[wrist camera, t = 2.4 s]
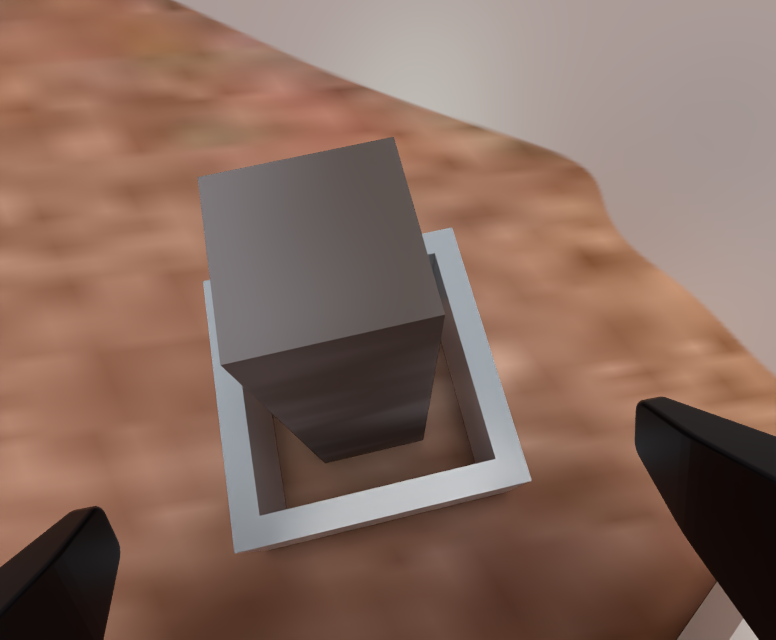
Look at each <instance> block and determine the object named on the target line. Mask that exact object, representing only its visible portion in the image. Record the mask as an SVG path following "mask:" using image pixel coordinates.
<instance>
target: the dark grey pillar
mask: <svg viewBox="0 0 776 640" xmlns="http://www.w3.org/2000/svg"><path fill="white" fill-rule="evenodd" d="M198 184H199V193H200V201H201V209H202V218H203V226H204V234H205V242H206V251H207V259H208V267H209V276H210V284H211V292H212V300H213V309H214V317H215V325H216V334H217V342H218V350H219V358H220V365H221V366H222V367H223V368H224V369H225V370H226V371H227V372H228V373H229V374H230V375H231V376H232V377H234V378H235V379H236V380H237V381H238V382H239V383H240V384H241V385H242V386H243V387H244V388H245V389H246V390H247V391H249V392H250V393H251V394H252V395H253V396H254V397H255V398H256V399H257V400H258V401H259V402H260V403H261V404H262V405H264V406H265V407H266V408H267V409H268V410H269V411H270V412H271V413H272V414H273V415H274V416H275V417H276V418H277V419H279V420H280V421H281V422H282V423H283V424H284V425H285V426H286V427H287V428H288V429H289V430H290V431H291V432H292V433H294V434H295V435H296V436H297V437H298V438H299V439H300V440H301V441H302V442H303V443H304V444H305V445H306V446H307V447H309V448H310V449H311V450H312V451H313V452H314V453H315V454H316V455H317V456H318V457H319V458H320V459H321V460H322V461H324V462H325V463H328V462H332V461H336V460H340V459H345V458H349V457H353V456H357V455H362V454H366V453H370V452H374V451H378V450H383V449H387V448H391V447H395V446H399V445H404V444H408V443H412V442H416V441H420V440H423V438H424V432H425V426H426V421H427V415H428V409H429V403H430V398H431V392H432V386H433V381H434V375H435V369H436V364H437V358H438V352H439V347H440V341H441V335H442V330H443V324H444V318H445V312H444V309H443V305H442V302H441V298H440V295H439V291H438V288H437V285H436V281H435V278H434V274H433V271H432V267H431V264H430V261H429V257H428V254H427V250H426V247H425V243H424V240H423V236H422V233H421V230H420V226H419V223H418V219H417V216H416V212H415V209H414V205H413V202H412V199H411V195H410V192H409V188H408V185H407V181H406V178H405V174H404V171H403V168H402V164H401V161H400V157H399V154H398V150H397V147H396V143H395V140H394V137H391V138H386V139H381V140H376V141H371V142H366V143H362V144H357V145H352V146H347V147H342V148H337V149H332V150H328V151H323V152H318V153H313V154H308V155H303V156H298V157H294V158H289V159H284V160H279V161H274V162H269V163H264V164H260V165H255V166H250V167H245V168H240V169H235V170H230V171H226V172H221V173H216V174H211V175H206V176H201V177H198Z"/></svg>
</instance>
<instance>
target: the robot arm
mask: <svg viewBox="0 0 776 640" xmlns="http://www.w3.org/2000/svg"><path fill="white" fill-rule="evenodd" d="M635 446H636V450H637V453H638V455H639V457H640V459H641V460H642V462H643V464H644V466H645V468H646V469H647V471H648V473H649V475H650V476H651V478H652V480H653V482H654V483H655V485H656V487H657V489H658V491H659V492H660V494H661V496H662V498H663V499H664V501H665V503H666V505H667V507H668V508H669V510H670V512H671V514H672V515H673V517H674V519H675V521H676V522H677V524H678V526H679V527H680V529H681V531H682V532H683V534H684V535H685V537H686V538H687V540H688V541H689V543H690V544H691V546H692V547H693V548H694V550H695V551H696V553H697V554H698V555H699V557H700V558H701V560H702V561H703V562H704V564H705V565H706V567H707V568H708V569H709V571H710V572H711V574H712V575H713V576H714V578H715V579H716V581H717V582H718V583H719V585H720V586H721V588H722V589H723V590H724V592H725V593H726V595H727V596H728V597H729V599H730V600H731V602H732V603H733V605H734V606H735V607H736V609H737V610H738V612H739V613H740V614H741V616H742V617H743V619H744V620H745V621H746V623H747V624H748V626H749V627H750V628H751V630H752V631H753V633H754V634H755V635H756V637H757V638H758V640H776V436H773V435H770V434H767V433H765V432H762V431H759V430H756V429H753V428H751V427H748V426H745V425H742V424H739V423H736V422H734V421H731V420H728V419H725V418H722V417H719V416H717V415H714V414H711V413H708V412H705V411H703V410H700V409H697V408H694V407H691V406H688V405H686V404H683V403H680V402H677V401H674V400H671V399H669V398H666V397H656V398H651V399H646V400H641V401H640V402H639V403H638V404H637V406H636V418H635ZM119 560H120V546H119V542H118V540H117V538H116V535H115V533H114V531H113V529H112V527H111V525H110V523H109V520H108V518H107V516H106V514H105V512H104V511H103V509H102V508H100V507H97V506H93V507H87V508H82V509H77V510H74V511H71V512H70V513H68V514H67V515H66V516H65V517H63V518H62V519H61V520H59V521H58V522H57V523H56V524H54V525H53V526H52V527H51V528H49V529H48V530H47V531H46V532H44V533H43V534H42V535H41V536H39V537H38V538H37V539H35V540H34V541H33V542H32V543H30V544H29V545H28V546H27V547H25V548H24V549H23V550H22V551H20V552H19V553H18V554H17V555H15V556H14V557H13V558H11V559H10V560H9V561H8V562H6V563H5V564H4V565H3V566H1V567H0V640H103V639H104V634H105V629H106V625H107V620H108V615H109V610H110V605H111V600H112V595H113V590H114V585H115V580H116V575H117V570H118V565H119Z"/></svg>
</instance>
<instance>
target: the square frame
mask: <svg viewBox="0 0 776 640" xmlns="http://www.w3.org/2000/svg"><path fill="white" fill-rule="evenodd" d="M422 236H423V240H424V243H425V247H426V250H427V254H428V257H429V261H430V264H431V267H432V271H433V274H434V278H435V281H436V285H437V288H438V291H439V295H440V298H441V302H442V305H443V309H444V312H445V318H444V324H443V330H442V335H441V343H442V346H443V350H444V353H445V357H446V360H447V364H448V367H449V371H450V375H451V378H452V382H453V385H454V389H455V392H456V396H457V399H458V403H459V407H460V410H461V414H462V417H463V421H464V424H465V428H466V431H467V435H468V438H469V442H470V446H471V449H472V453H473V456H474V460H475V463H476V464H473V465H469V466H464V467H460V468H456V469H452V470H448V471H444V472H440V473H435V474H431V475H427V476H423V477H419V478H415V479H411V480H406V481H402V482H398V483H394V484H390V485H386V486H382V487H377V488H373V489H369V490H365V491H361V492H357V493H353V494H348V495H344V496H340V497H336V498H332V499H328V500H324V501H319V502H315V503H311V504H307V505H303V506H299V507H295V508H290V509H286V503H285V496H284V490H283V483H282V476H281V470H280V463H279V457H278V450H277V444H276V437H275V430H274V424H273V417H272V413H271V412H270V411H269V410H268V409H267V408H266V407H265V406H264V405H262V404H261V403H260V402H259V401H258V400H257V399H256V398H255V397H254V396H253V395H252V394H251V393H250V392H249V391H247V390H246V389H245V388H244V387H243V386H242V385H241V384H240V383H239V382H238V381H237V380H236V379H235V378H234V377H232V376H231V375H230V374H229V373H228V372H227V371H226V370H225V369H224V368H223V367H222V366H221V365H220V358H219V350H218V342H217V334H216V325H215V317H214V309H213V300H212V292H211V284H210V280H207V281H203V285H204V294H205V302H206V311H207V320H208V328H209V337H210V346H211V354H212V363H213V372H214V380H215V389H216V398H217V406H218V415H219V424H220V432H221V441H222V450H223V458H224V467H225V475H226V484H227V493H228V501H229V510H230V519H231V527H232V536H233V545H234V553H245V552H256V551H267V550H272V549H276V548H280V547H284V546H288V545H292V544H296V543H300V542H305V541H309V540H313V539H317V538H321V537H325V536H329V535H333V534H337V533H341V532H345V531H349V530H354V529H358V528H362V527H366V526H370V525H374V524H378V523H382V522H386V521H390V520H394V519H398V518H402V517H407V516H411V515H415V514H419V513H423V512H427V511H431V510H435V509H439V508H443V507H447V506H451V505H455V504H460V503H464V502H468V501H472V500H476V499H480V498H484V497H488V496H492V495H496V494H500V493H504V492H508V491H510V490H512V489H515V488H517V487H519V486H521V485H523V484H526V483H528V482H530V481H532V480H531V477H530V474H529V470H528V467H527V464H526V461H525V458H524V455H523V451H522V448H521V445H520V442H519V439H518V436H517V432H516V429H515V426H514V423H513V420H512V417H511V413H510V410H509V407H508V404H507V401H506V397H505V394H504V391H503V388H502V385H501V382H500V378H499V375H498V372H497V369H496V366H495V363H494V359H493V356H492V353H491V350H490V347H489V344H488V340H487V337H486V334H485V331H484V328H483V325H482V321H481V318H480V315H479V312H478V309H477V305H476V302H475V299H474V296H473V293H472V290H471V286H470V283H469V280H468V277H467V274H466V271H465V267H464V264H463V261H462V258H461V255H460V252H459V248H458V245H457V242H456V239H455V236H454V233H453V229H452V228H447V229H443V230H438V231H433V232H429V233H424V234H422Z"/></svg>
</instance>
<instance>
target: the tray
mask: <svg viewBox="0 0 776 640" xmlns="http://www.w3.org/2000/svg"><path fill="white" fill-rule="evenodd" d="M677 640H758V638H757V637H756V635H755V634H754V633H753V631H752V630H751V628H750V627H749V626H748V624H747V623H746V621H745V620H744V619H743V617H742V616H741V614H740V613H739V612H738V610H737V609H736V607H735V606H734V605H733V603H732V602H731V600H730V599H729V597H728V596H727V595H726V593H725V592H724V590H723V589H722V588H721V586H720V585H719V583H718V582H716V584H715V585H714V587H713V588H712V590H711V591H710V593H709V594H708V595H707V597H706V598H705V600H704V601H703V603H702V604H701V606H700V607H699V608H698V610H697V611H696V613H695V614H694V616H693V617H692V619H691V620H690V621H689V623H688V624H687V626H686V627H685V629H684V630H683V631H682V633H681V634H680V636H679V637H678V639H677Z"/></svg>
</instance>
